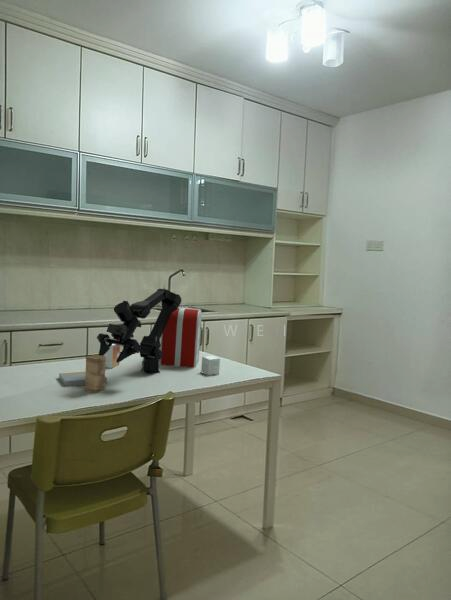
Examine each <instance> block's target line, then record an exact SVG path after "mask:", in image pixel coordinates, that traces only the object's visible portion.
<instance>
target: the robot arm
mask: <svg viewBox="0 0 451 600" xmlns="http://www.w3.org/2000/svg"><path fill="white" fill-rule="evenodd" d="M159 304H161V310H160V312H159V314H158V316H157V318H156V321H155V323H154V325H153V327H152V329H151V331H150V333H149V335H144V336H142V339H141V341H140V343H139V341H138V339H134V333H135V332H136V329H137V328H142V323H141V320H139V319H143V320H145V319H146V318H147V317H148V316H149V315H150V314H151V310H152V309H154V307H156V306H157V305H159ZM181 304H182V297H181V296H180V294H177V293H174V292H172V291H170V290H169V289H167V288H158V289H157V290H156V291H155V292H153V293H151V294H150V295H149V296H147V298H145V299H143V300H142V301H136V302H134V303H132V304H131V305H130V302H129V301H128V300H122V302H120V303H118V304H116V305H115V306H114V307H113V311H114V314H115V315H116V317H118V319H119V321H121V322H122V324H121V323H120V325H118V324H113V323H109V324H108V326H107V329H106V332H107V333H110V334H111V337H110V335H109V334H107V333H104V332H100V333H99V334H98V335H97V336H96V339H97V340H98V343H99V350H98V351H99V352H98V355H101V356H103V355H104V354H105V353H106V352H107V351H108V350H109V349H110V346H111V345H112V344H116V345H120V347H122V350H121V351H120V355H119V357H118V358H117V361H116V362H117V363H119V364H120V362H122V361H123V360H125V359H126V358H128V357H130V356H132V355H135V354H139V356H140V358H142V362H141V371H142V372H144V373H145V374H153V373H154V374H155V373H160V370H159V368H160V367H159V366H160V365H159V360H160V359H162V356H163V353H162V352H161V350H160V342H161V335H162V333H163V331H164V329H165V327H166V325H167V322H168V320H169V318H170V316H171V314H172V312H174V311H175V310H177V309H178V307H180V305H181ZM112 337H113V338H112Z"/></svg>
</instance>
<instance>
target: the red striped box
mask: <svg viewBox="0 0 451 600" xmlns="http://www.w3.org/2000/svg"><path fill="white" fill-rule="evenodd" d="M202 314H203V313H202V309H200V308H192V307H191V308H190V307H189V308H188V307H180V306H179V307H178V309H177V310H175V311H174V312H172V314H171V316H170V318H169V320H168V322H167V325H166V327H165V329H164V331H163V333H162V335H161V338H160V350H161V352H162V353H163V356H162V359H160V360H159V366H168V367H169V366H170V367H172V366H173V367H181V368H182V367H184V368H194V369H195V368H196V367H197V365H198V363H199V360H200V348H201V346H200V345H201V332H202V331H201V329H202Z"/></svg>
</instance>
